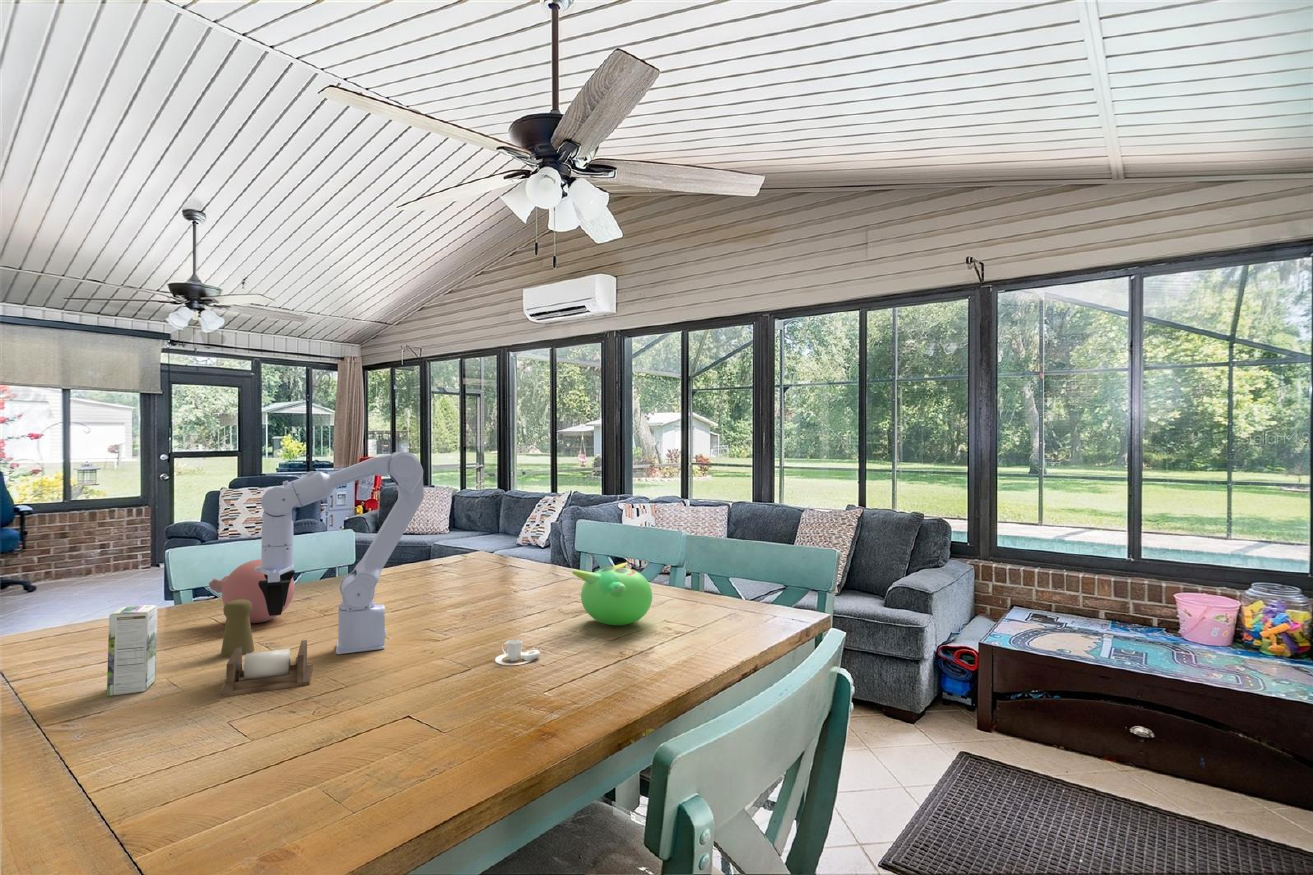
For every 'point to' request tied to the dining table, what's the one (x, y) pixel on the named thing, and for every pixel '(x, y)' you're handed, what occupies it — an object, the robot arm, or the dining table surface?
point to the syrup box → (132, 649)
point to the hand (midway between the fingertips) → (277, 610)
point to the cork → (237, 628)
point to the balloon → (248, 590)
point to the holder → (238, 685)
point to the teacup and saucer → (516, 653)
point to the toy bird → (615, 594)
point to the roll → (267, 664)
